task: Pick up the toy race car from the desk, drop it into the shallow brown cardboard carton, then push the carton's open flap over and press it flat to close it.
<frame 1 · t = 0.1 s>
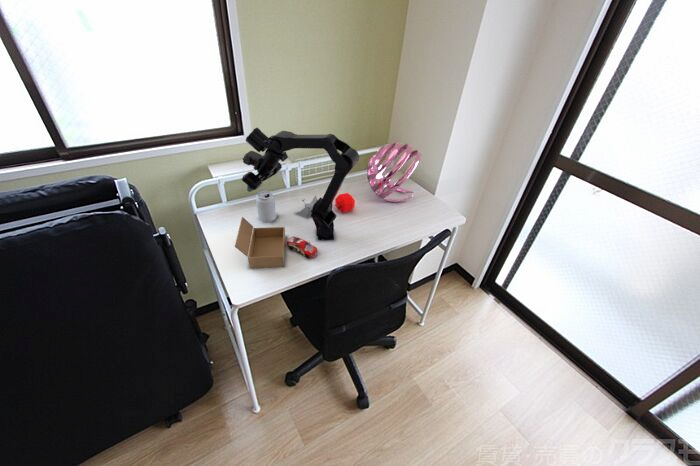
hand: (255, 185, 123), 15 cm above the table, tool tilted 35°, fingers open, 9 cm apart
carton: (268, 251, 115), on the table
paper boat: (309, 212, 137), on the table
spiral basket: (388, 194, 153), on the table
race car: (302, 250, 117), on the table
ball: (344, 210, 140), on the table
flap: (244, 235, 109), point 8 cm above the table, hinge at 125.0°
can: (267, 218, 131), on the table
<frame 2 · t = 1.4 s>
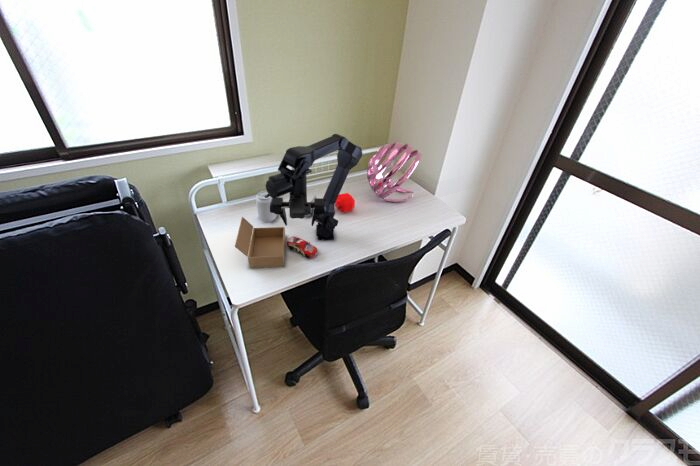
hand: (299, 225, 109), 12 cm above the table, tool pointing down, fingers open, 9 cm apart
nothing on the table moved.
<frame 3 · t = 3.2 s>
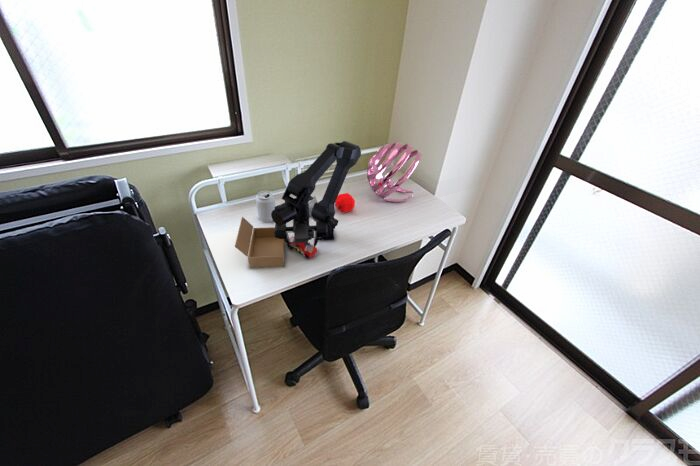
hand: (302, 246, 115), 2 cm above the table, tool pointing down
race car: (302, 250, 117), on the table, touching gripper
everything else where it was.
when the fingers open (3 cm above the table, at t = 8.8 s): race car stays where it is, resting on carton.
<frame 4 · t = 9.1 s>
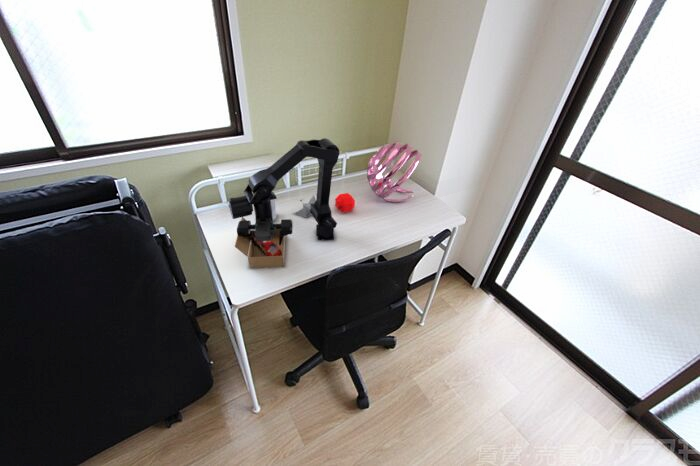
hand: (268, 245, 113), 3 cm above the table, tool pointing down, fingers open, 8 cm apart
race car: (269, 251, 115), resting on carton
flap: (244, 235, 109), point 8 cm above the table, hinge at 125.1°, touching gripper
everything else where it was.
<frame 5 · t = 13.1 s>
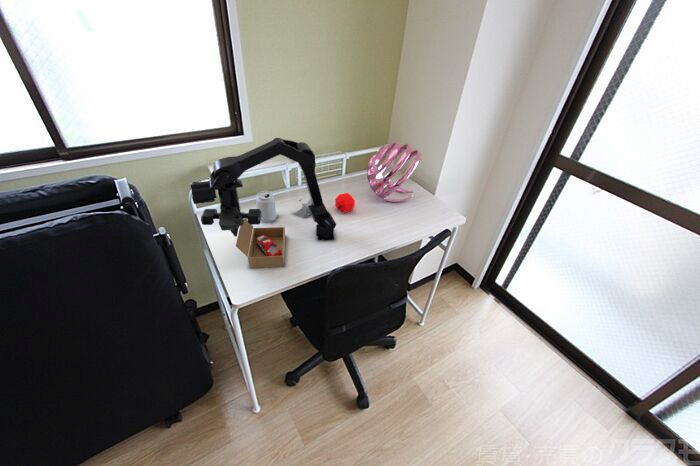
hand: (236, 235, 108), 8 cm above the table, tool pointing down, fingers closed
flap: (245, 235, 109), point 8 cm above the table, hinge at 121.4°, touching gripper
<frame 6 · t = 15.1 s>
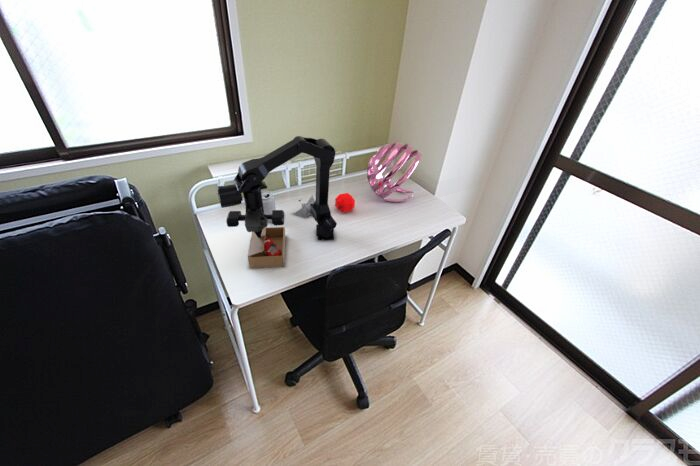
hand: (259, 236, 110), 7 cm above the table, tool pointing down, fingers closed
flap: (258, 238, 110), point 7 cm above the table, hinge at 21.2°, touching gripper
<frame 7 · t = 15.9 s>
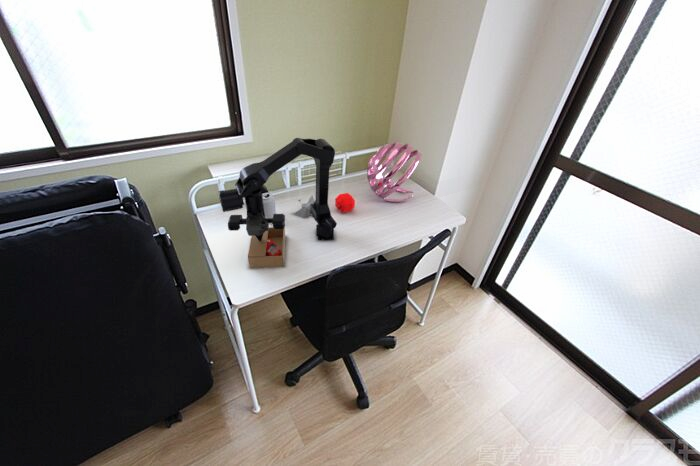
hand: (260, 240, 111), 6 cm above the table, tool pointing down, fingers closed, pressing on flap
flap: (258, 240, 111), point 5 cm above the table, hinge at -2.5°, touching gripper
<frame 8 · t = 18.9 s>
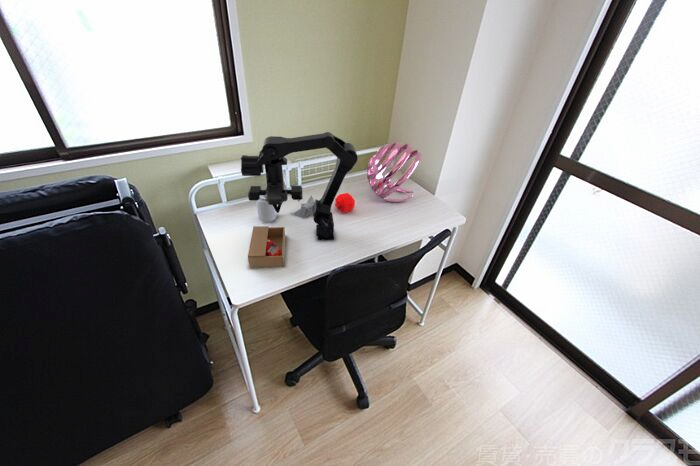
hand: (278, 212, 114), 12 cm above the table, tool pointing down, fingers closed
flap: (258, 240, 111), point 5 cm above the table, hinge at -1.5°
at the end: race car inside the target area in the carton (0.1 cm from its centre), point 0.2 cm above the carton's base; flap at -2° (first picture: +125°) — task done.
